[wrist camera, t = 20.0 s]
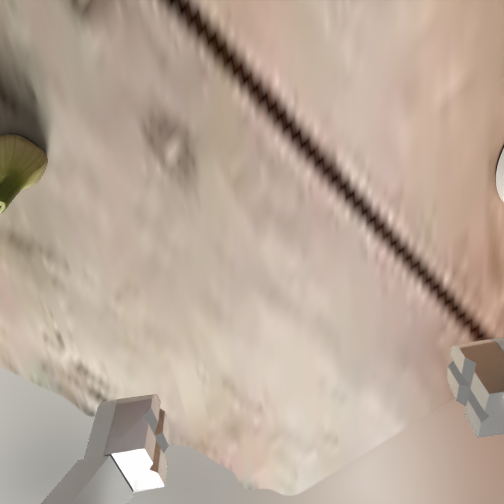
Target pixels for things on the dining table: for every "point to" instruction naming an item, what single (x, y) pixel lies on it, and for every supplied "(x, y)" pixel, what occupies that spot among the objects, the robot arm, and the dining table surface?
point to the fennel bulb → (18, 166)
